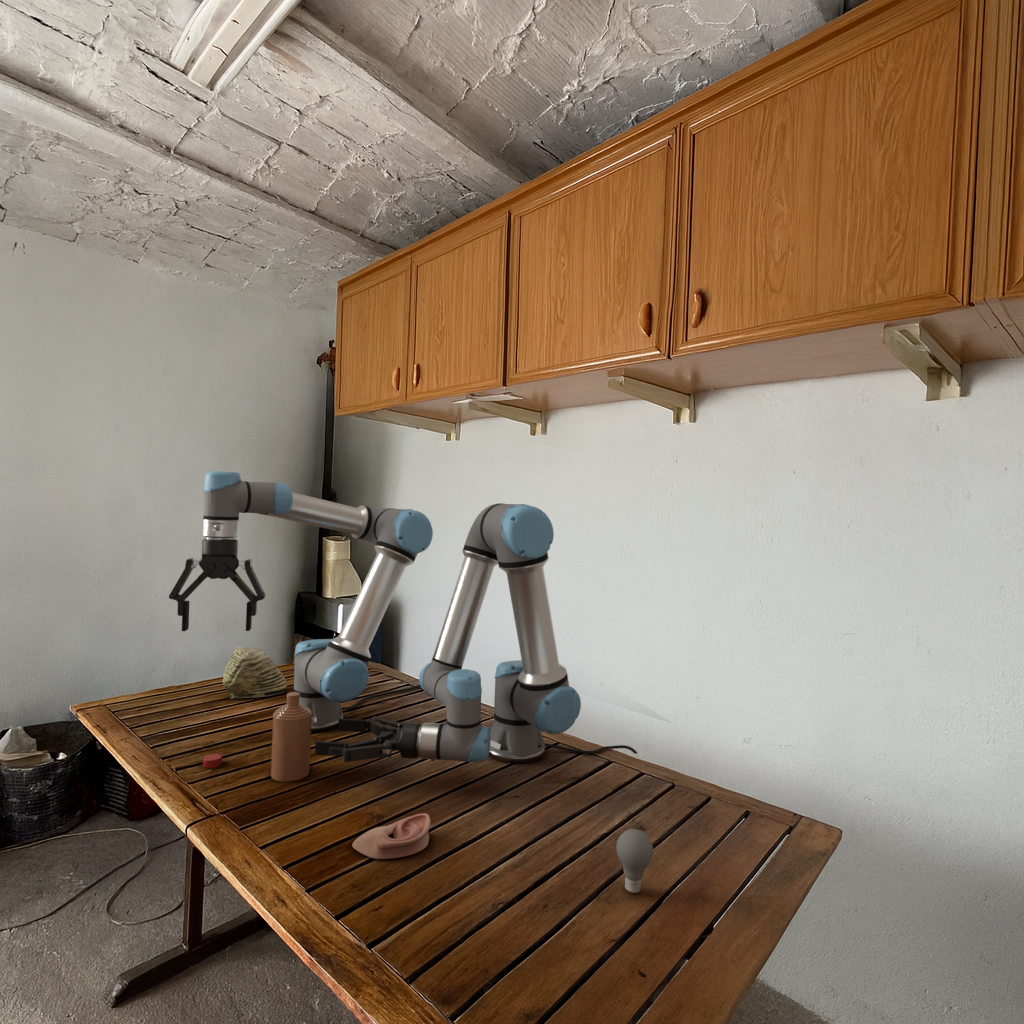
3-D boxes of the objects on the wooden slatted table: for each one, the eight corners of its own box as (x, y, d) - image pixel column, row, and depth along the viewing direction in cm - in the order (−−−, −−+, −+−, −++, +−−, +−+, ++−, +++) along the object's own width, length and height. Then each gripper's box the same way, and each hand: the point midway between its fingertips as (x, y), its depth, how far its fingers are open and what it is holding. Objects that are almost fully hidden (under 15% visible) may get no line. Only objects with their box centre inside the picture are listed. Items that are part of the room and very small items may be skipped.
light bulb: (610, 879, 108) (613, 822, 108) (644, 879, 109) (647, 822, 109) (619, 902, 102) (622, 840, 102) (655, 901, 103) (658, 840, 103)
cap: (222, 766, 146) (222, 758, 146) (203, 769, 144) (203, 761, 144) (221, 760, 150) (221, 752, 150) (202, 762, 148) (202, 755, 148)
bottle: (271, 783, 139) (274, 701, 138) (269, 768, 146) (272, 689, 146) (311, 778, 142) (314, 697, 142) (307, 763, 150) (310, 687, 149)
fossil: (218, 695, 195) (220, 647, 195) (278, 685, 208) (279, 640, 207) (228, 703, 189) (230, 653, 188) (289, 692, 201) (290, 645, 201)
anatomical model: (345, 832, 112) (372, 802, 124) (344, 854, 113) (371, 822, 124) (415, 843, 110) (436, 812, 121) (414, 866, 110) (436, 832, 121)
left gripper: (155, 537, 140) (152, 633, 140) (275, 541, 145) (271, 633, 146) (166, 535, 147) (163, 626, 147) (279, 538, 152) (276, 626, 153)
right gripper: (405, 783, 129) (304, 776, 130) (432, 735, 153) (347, 731, 155) (406, 746, 128) (304, 740, 130) (432, 705, 153) (347, 700, 155)
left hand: (217, 630), depth 146 cm, fingers open, 13 cm apart
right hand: (327, 735), depth 143 cm, fingers open, 13 cm apart
